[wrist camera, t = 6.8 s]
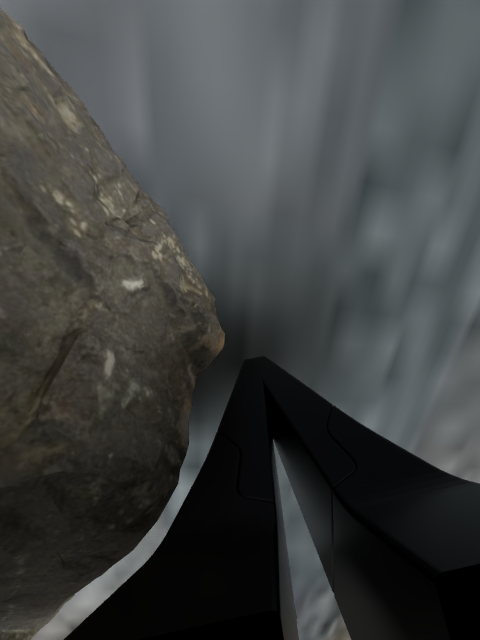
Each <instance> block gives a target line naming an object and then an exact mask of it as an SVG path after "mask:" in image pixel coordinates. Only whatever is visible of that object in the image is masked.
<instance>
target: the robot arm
mask: <svg viewBox="0 0 480 640" xmlns="http://www.w3.org/2000/svg"><path fill="white" fill-rule="evenodd" d="M273 440H274V442H275V445H276V447H277V450H278V453H279V455H280V458H281V460H282V463H283V465H284V468H285V471H286V473H287V476H288V478H289V481H290V483H291V486H292V488H293V491H294V494H295V496H296V499H297V501H298V504H299V506H300V509H301V511H302V514H303V517H304V519H305V522H306V524H307V527H308V529H309V532H310V535H311V537H312V540H313V542H314V545H315V547H316V550H317V552H318V555H319V558H320V560H321V563H322V565H323V568H324V570H325V573H326V576H327V578H328V581H329V583H330V586H331V588H332V591H333V593H334V596H335V599H336V601H337V604H338V606H339V609H340V612H341V614H342V617H343V619H344V622H345V624H346V627H347V629H348V632H349V635H350V637H351V640H480V483H475V482H471V481H467V480H464V479H461V478H459V477H456V476H453V475H451V474H449V473H447V472H444V471H442V470H440V469H438V468H436V467H435V466H433V465H431V464H429V463H427V462H426V461H424V460H422V459H420V458H419V457H417V456H415V455H413V454H412V453H410V452H408V451H406V450H405V449H403V448H401V447H399V446H398V445H396V444H394V443H393V442H391V441H389V440H387V439H386V438H384V437H382V436H380V435H379V434H377V433H375V432H374V431H372V430H370V429H369V428H367V427H365V426H364V425H362V424H360V423H359V422H357V421H356V420H354V419H353V418H351V417H350V416H348V415H347V414H345V413H344V412H343V411H341V410H340V409H338V408H337V407H336V406H333V405H332V404H331V403H330V402H328V401H327V400H326V399H324V398H323V397H321V396H320V395H319V394H317V393H316V392H314V391H313V390H311V389H310V388H309V387H307V386H306V385H304V384H303V383H302V382H300V381H299V380H297V379H296V378H295V377H293V376H292V375H290V374H289V373H288V372H286V371H285V370H283V369H282V368H281V367H279V366H278V365H276V364H275V363H274V362H272V361H271V360H269V359H268V358H267V357H265V356H261V357H256V358H251V359H247V360H244V362H243V364H242V367H241V370H240V372H239V375H238V378H237V380H236V383H235V385H234V388H233V391H232V393H231V396H230V399H229V401H228V404H227V407H226V409H225V412H224V414H223V417H222V420H221V422H220V425H219V428H218V432H217V433H216V435H215V438H214V441H213V443H212V446H211V448H210V450H209V453H208V455H207V457H206V460H205V462H204V464H203V466H202V468H201V470H200V472H199V474H198V476H197V478H196V480H195V482H194V484H193V485H192V487H191V489H190V491H189V493H188V495H187V497H186V499H185V500H184V502H183V504H182V506H181V508H180V510H179V512H178V514H177V516H176V517H175V519H174V521H173V523H172V525H171V527H170V529H169V531H168V532H167V534H166V536H165V538H164V539H163V541H162V542H161V544H160V545H159V547H158V548H157V549H156V551H155V552H154V553H153V555H152V556H151V557H150V558H149V559H148V561H147V562H146V563H145V564H144V565H143V566H142V567H141V568H140V569H138V570H137V571H136V572H135V573H134V574H133V575H132V576H131V577H130V578H129V579H128V580H127V581H126V582H125V583H124V584H122V585H121V586H120V587H119V588H118V589H117V590H116V591H115V592H114V593H113V594H112V595H111V596H110V597H109V598H108V599H106V600H105V601H104V602H103V603H102V604H101V605H100V606H99V607H98V608H97V609H96V610H95V611H94V612H93V613H92V614H90V615H89V616H88V617H87V618H86V619H85V620H84V621H83V622H82V623H81V624H80V625H79V626H78V627H77V628H76V629H74V630H73V631H72V632H71V633H70V634H69V635H68V636H67V637H66V638H65V639H64V640H299V637H298V629H297V621H296V619H297V615H296V610H295V606H294V598H293V591H292V583H291V575H290V567H289V560H288V552H287V544H286V537H285V529H284V521H283V513H282V506H281V498H280V490H279V483H278V475H277V467H276V459H275V452H274V444H273Z"/></svg>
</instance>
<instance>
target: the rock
mask: <svg viewBox="0 0 480 640" xmlns="http://www.w3.org/2000/svg"><path fill="white" fill-rule="evenodd" d="M224 340H225V333H224V332H223V330H222V329H221V326H220V323H219V321H218V318H217V316H216V306H215V298H214V296H213V294H212V293H211V292H210V291H209V289H208V288H207V287H206V285H205V283H204V281H203V279H202V277H201V276H200V274H199V273H198V271H197V270H196V268H195V267H194V265H193V264H192V262H191V261H190V259H189V258H188V256H187V255H186V253H185V251H184V249H183V247H182V245H181V243H180V240H179V238H178V236H177V234H176V233H175V232H174V230H173V228H172V227H171V225H170V223H169V220H168V218H167V214H166V213H165V211H164V210H163V209H162V207H161V206H160V205H157V204H156V203H155V202H154V201H153V200H152V199H151V198H150V196H149V195H148V194H147V193H146V192H145V191H144V190H143V189H142V188H141V186H140V185H139V184H138V183H137V181H136V180H135V179H134V178H133V177H132V175H131V174H130V172H129V171H128V169H127V167H126V165H125V164H124V162H123V160H122V158H121V157H120V156H118V155H117V154H116V153H115V152H114V151H113V150H112V148H111V147H110V145H109V143H108V141H107V139H106V137H105V135H104V133H103V131H102V130H101V129H100V128H99V126H98V125H97V124H96V122H95V121H94V120H93V118H92V117H91V116H90V115H89V112H88V110H87V108H86V107H85V105H84V104H83V102H82V101H81V100H80V98H79V97H78V95H77V94H76V93H75V91H74V90H73V89H72V88H71V87H70V86H69V85H68V84H67V83H66V82H65V81H64V80H63V79H62V78H61V77H60V76H59V74H58V73H57V72H56V71H55V70H54V68H53V67H52V66H51V65H50V64H49V62H48V61H47V60H46V58H45V56H44V54H43V53H42V52H41V51H40V50H39V49H38V48H37V47H36V46H35V45H34V44H33V43H32V42H31V41H30V40H29V39H28V37H27V36H26V33H25V31H24V29H23V27H22V26H21V25H20V24H19V23H18V22H16V21H15V20H14V19H13V18H12V17H10V16H9V15H8V14H7V13H6V12H4V11H3V10H2V9H1V8H0V640H30V639H31V638H32V637H33V636H34V635H35V634H36V633H37V632H38V631H39V630H40V629H41V628H42V627H43V626H45V625H46V624H48V623H49V622H50V621H51V619H52V618H53V617H54V616H55V615H56V614H57V612H58V611H59V610H60V609H61V607H62V606H63V605H64V604H65V603H66V602H67V601H68V600H70V599H71V598H72V597H73V596H74V595H75V593H77V592H78V591H79V590H81V589H82V588H84V587H85V586H86V585H88V584H89V583H90V582H92V581H93V580H94V579H96V578H97V577H99V576H101V575H102V574H104V573H105V572H106V571H107V570H108V569H109V568H111V567H112V566H113V565H114V564H115V563H117V562H118V561H120V560H121V559H122V558H124V557H125V556H126V555H127V554H129V553H130V552H131V551H133V550H134V548H135V547H136V546H137V545H138V544H139V542H140V541H141V540H142V539H143V538H144V536H145V535H146V534H147V533H148V531H149V530H150V529H151V528H152V527H153V525H154V524H155V523H156V522H157V520H158V519H159V517H160V515H161V514H162V512H163V510H164V508H165V507H166V505H167V503H168V501H169V500H170V498H171V496H172V494H173V492H174V490H175V488H176V487H177V485H178V481H179V474H180V469H181V466H182V464H183V461H184V458H185V456H186V452H187V449H188V445H189V430H188V428H189V415H190V412H191V409H192V406H193V396H192V393H193V390H194V387H195V383H196V376H197V375H199V374H200V373H201V372H202V371H204V370H205V369H206V368H207V367H208V366H209V365H210V364H211V362H212V361H213V360H214V359H215V357H216V356H217V355H218V354H219V352H220V351H221V350H222V348H223V346H224Z"/></svg>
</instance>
